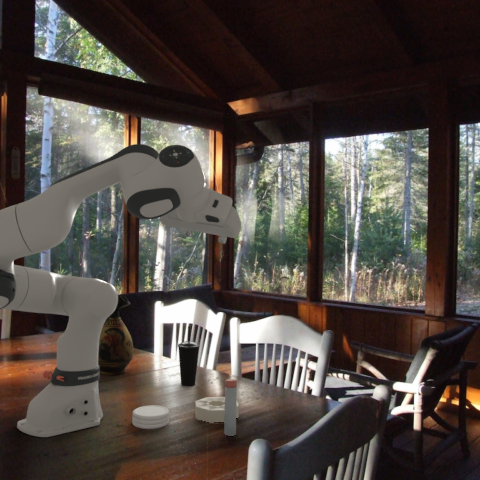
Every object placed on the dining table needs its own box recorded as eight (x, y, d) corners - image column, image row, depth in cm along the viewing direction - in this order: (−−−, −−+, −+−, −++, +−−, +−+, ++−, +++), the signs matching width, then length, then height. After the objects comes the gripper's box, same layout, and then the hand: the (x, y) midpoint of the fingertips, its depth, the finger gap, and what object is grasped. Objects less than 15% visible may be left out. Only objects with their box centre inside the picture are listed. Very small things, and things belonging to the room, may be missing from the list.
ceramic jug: (138, 367, 203) (139, 289, 203) (125, 378, 188) (127, 294, 188) (95, 365, 205) (97, 288, 205) (79, 376, 190) (81, 292, 190)
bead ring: (219, 426, 142) (219, 413, 142) (186, 416, 150) (187, 403, 150) (246, 414, 152) (246, 402, 152) (214, 406, 159) (214, 394, 159)
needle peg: (230, 437, 134) (232, 382, 134) (221, 435, 136) (222, 380, 136) (238, 434, 137) (239, 380, 137) (229, 431, 138) (230, 378, 138)
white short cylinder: (152, 414, 151) (152, 402, 151) (176, 423, 145) (177, 410, 145) (124, 423, 143) (124, 410, 143) (148, 432, 137) (149, 419, 137)
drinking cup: (172, 385, 180) (173, 326, 180) (185, 380, 187) (186, 323, 187) (191, 388, 177) (192, 329, 177) (203, 383, 184) (204, 325, 184)
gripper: (147, 207, 123) (163, 241, 134) (229, 220, 117) (239, 255, 128) (158, 186, 126) (173, 221, 137) (238, 198, 120) (247, 234, 131)
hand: (205, 238), depth 133 cm, fingers open, 8 cm apart
